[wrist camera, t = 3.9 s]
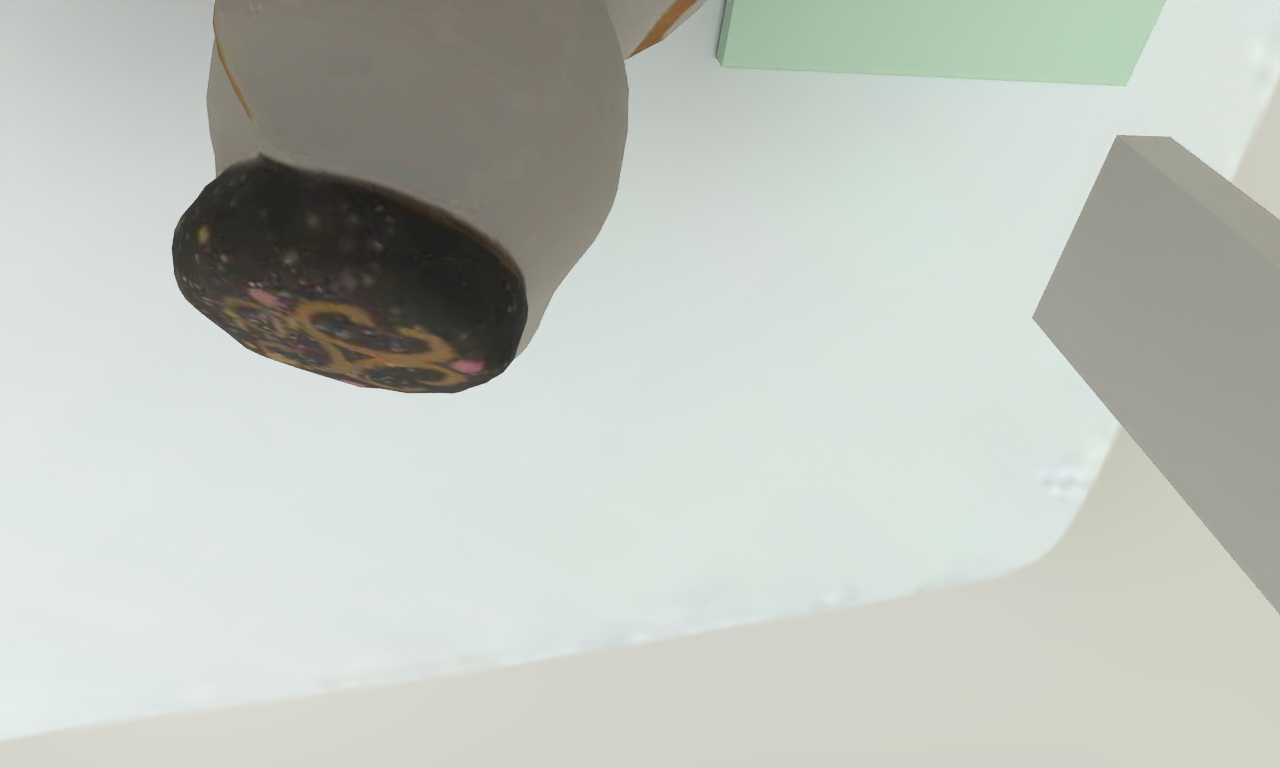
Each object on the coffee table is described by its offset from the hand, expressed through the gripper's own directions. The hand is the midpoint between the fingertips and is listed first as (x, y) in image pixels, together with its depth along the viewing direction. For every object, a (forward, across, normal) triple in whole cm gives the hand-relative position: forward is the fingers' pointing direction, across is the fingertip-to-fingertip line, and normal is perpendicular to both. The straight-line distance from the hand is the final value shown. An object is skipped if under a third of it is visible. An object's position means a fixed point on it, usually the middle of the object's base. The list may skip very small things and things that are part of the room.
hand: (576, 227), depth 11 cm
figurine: (+15, 0, 0) cm, 15 cm away
